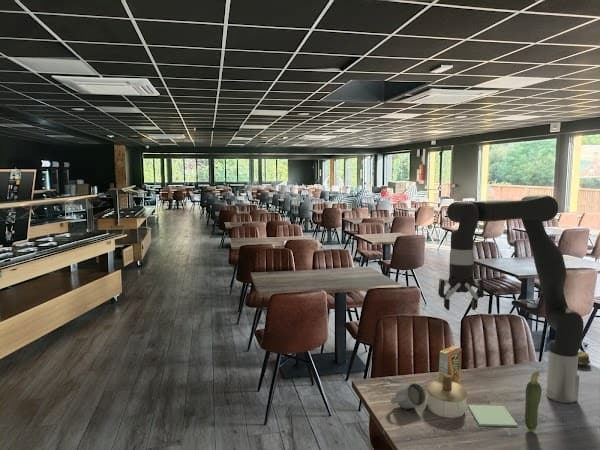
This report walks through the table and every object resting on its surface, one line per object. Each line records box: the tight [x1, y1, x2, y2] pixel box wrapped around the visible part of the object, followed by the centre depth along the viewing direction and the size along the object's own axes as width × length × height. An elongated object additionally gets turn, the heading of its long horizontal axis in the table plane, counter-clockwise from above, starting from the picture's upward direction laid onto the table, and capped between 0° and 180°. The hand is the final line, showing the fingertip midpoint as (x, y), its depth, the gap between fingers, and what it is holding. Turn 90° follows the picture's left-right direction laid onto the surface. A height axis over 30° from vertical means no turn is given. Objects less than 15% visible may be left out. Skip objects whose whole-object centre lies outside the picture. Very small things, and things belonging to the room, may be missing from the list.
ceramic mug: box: [390, 382, 427, 410], centre depth 155 cm, size 11×8×8 cm
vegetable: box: [524, 371, 542, 433], centre depth 142 cm, size 4×4×20 cm
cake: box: [578, 350, 591, 366], centre depth 195 cm, size 10×10×5 cm
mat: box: [467, 404, 519, 428], centre depth 151 cm, size 12×12×1 cm
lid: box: [426, 375, 468, 402], centre depth 155 cm, size 13×13×6 cm
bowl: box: [426, 390, 467, 419], centre depth 156 cm, size 12×12×6 cm
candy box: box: [438, 345, 463, 385], centre depth 170 cm, size 9×4×15 cm, turn 129°
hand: (460, 309), depth 152 cm, fingers open, 8 cm apart
